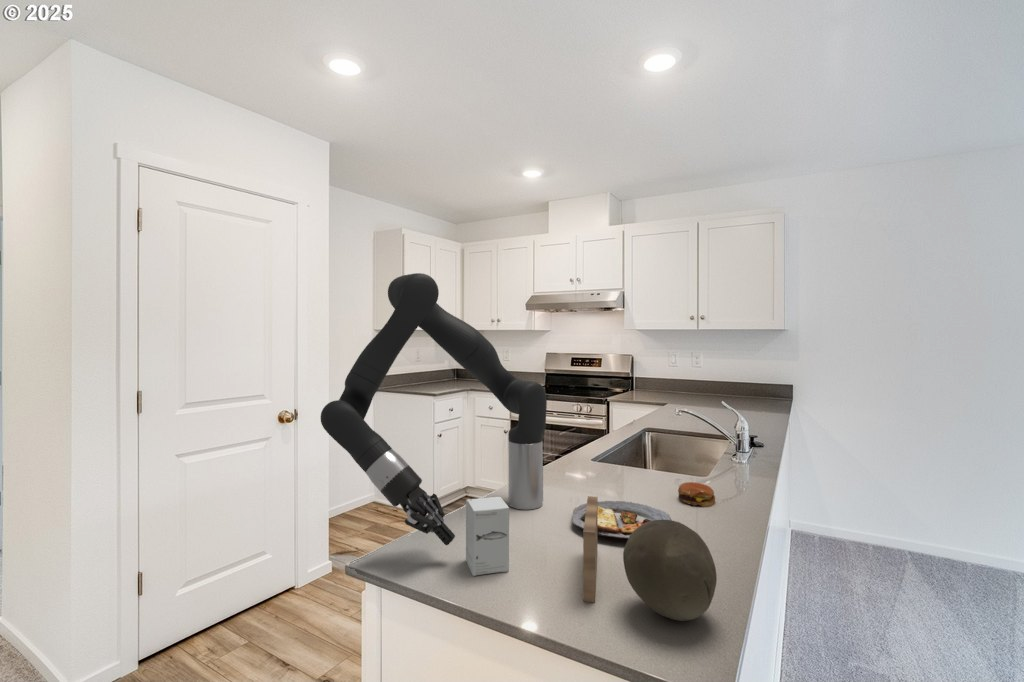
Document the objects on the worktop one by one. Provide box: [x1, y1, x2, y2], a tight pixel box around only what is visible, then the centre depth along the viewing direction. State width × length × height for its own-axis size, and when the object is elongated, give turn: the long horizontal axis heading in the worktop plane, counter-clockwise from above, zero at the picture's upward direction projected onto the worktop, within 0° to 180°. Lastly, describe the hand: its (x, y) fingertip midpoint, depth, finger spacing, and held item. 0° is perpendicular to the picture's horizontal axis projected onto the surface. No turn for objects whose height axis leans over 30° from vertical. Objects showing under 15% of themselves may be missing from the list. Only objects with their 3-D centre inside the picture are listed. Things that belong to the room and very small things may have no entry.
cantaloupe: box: [622, 519, 717, 622], centre depth 81 cm, size 14×14×15 cm
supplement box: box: [465, 496, 510, 577], centre depth 98 cm, size 7×7×13 cm
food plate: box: [571, 500, 672, 540], centre depth 119 cm, size 25×23×4 cm
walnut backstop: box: [582, 495, 599, 603], centre depth 94 cm, size 19×2×12 cm, turn 169°
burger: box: [677, 481, 716, 508], centre depth 136 cm, size 10×9×5 cm
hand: (451, 541), depth 100 cm, fingers closed
